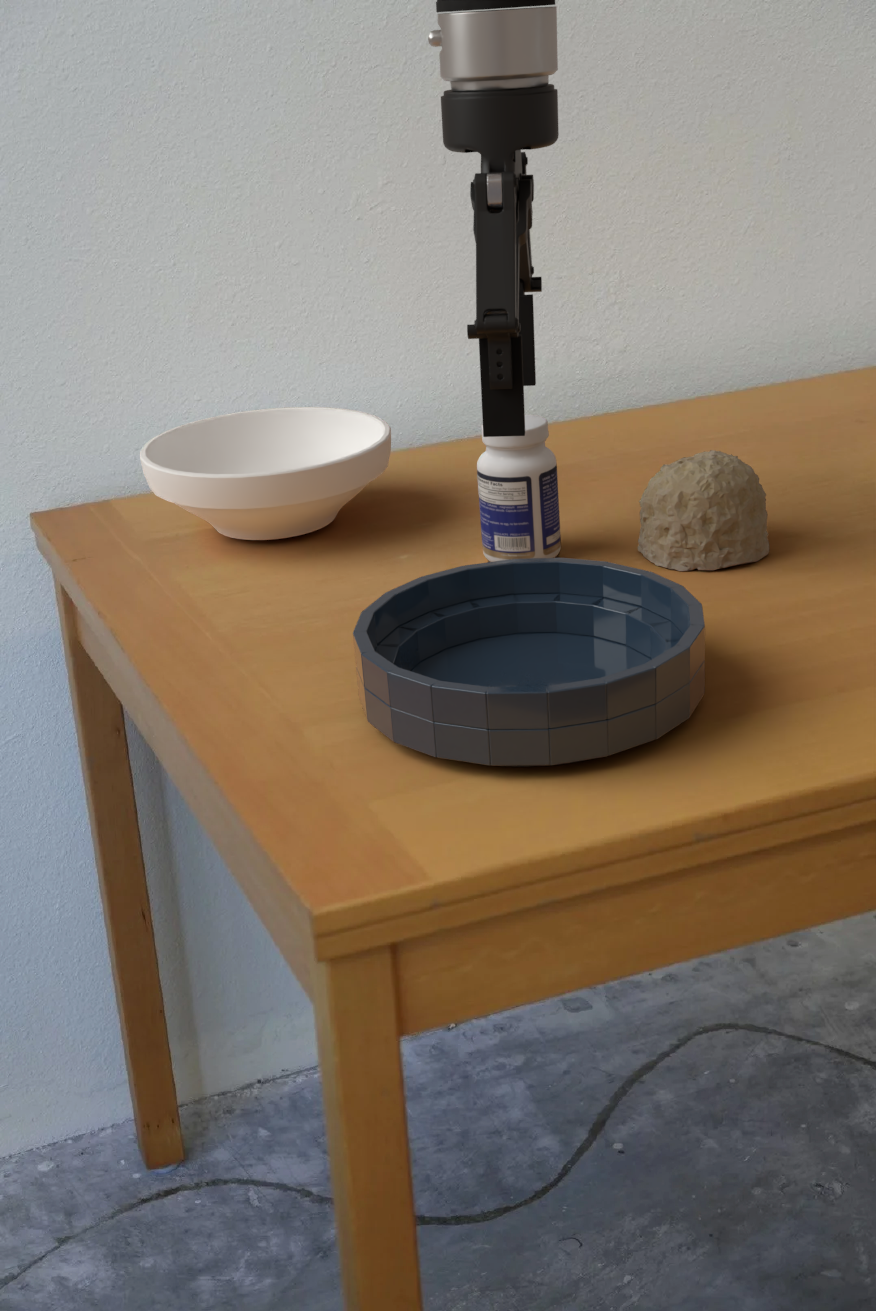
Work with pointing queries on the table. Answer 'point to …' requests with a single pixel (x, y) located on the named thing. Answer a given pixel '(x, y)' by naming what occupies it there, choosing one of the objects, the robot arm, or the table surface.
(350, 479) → the bowl
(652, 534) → the beige rock
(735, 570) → the table surface
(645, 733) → the blue bowl
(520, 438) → the pill bottle
